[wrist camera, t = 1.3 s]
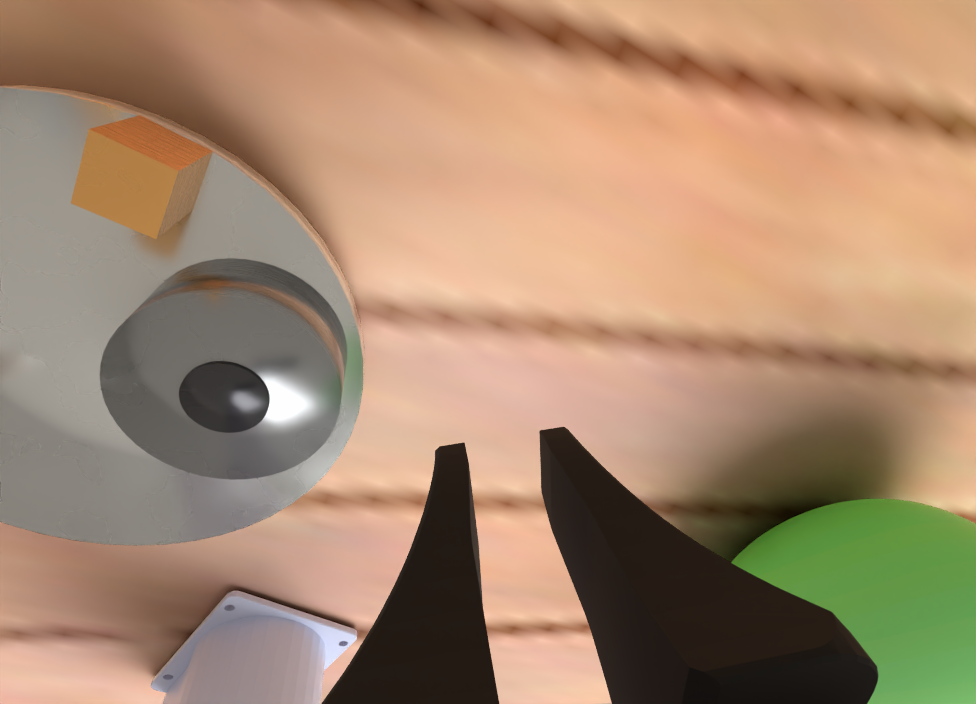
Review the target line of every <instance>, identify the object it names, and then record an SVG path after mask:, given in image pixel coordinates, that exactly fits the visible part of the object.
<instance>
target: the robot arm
mask: <svg viewBox="0 0 976 704" xmlns="http://www.w3.org/2000/svg"><path fill="white" fill-rule="evenodd" d="M540 457H541V489H542V495H543V499H544V503H545V506H546V510H547V514H548V518H549V521H550V525H551V529H552V531H553V534H554V536H555V539H556V542H557V544H558V547H559V549H560V552H561V554H562V557H563V559H564V562H565V564H566V567H567V569H568V572H569V574H570V577H571V579H572V582H573V584H574V587H575V590H576V592H577V595H578V597H579V600H580V602H581V605H582V607H583V610H584V612H585V615H586V618H587V621H588V623H589V626H590V629H591V632H592V636H593V639H594V642H595V646H596V649H597V653H598V656H599V659H600V663H601V666H602V670H603V673H604V677H605V680H606V684H607V687H608V691H609V694H610V698H611V701H612V704H867V703H868V701H869V700H870V698H871V696H872V694H873V693H874V690H875V688H876V685H877V682H878V670H877V666H876V664H875V663H874V662H873V660H872V659H871V658H870V657H869V655H868V654H867V653H866V651H865V650H864V649H863V648H862V646H861V645H860V644H859V642H858V641H857V640H856V639H855V637H854V636H853V635H852V634H851V632H850V631H849V630H848V629H847V628H846V627H845V626H844V625H843V624H842V623H841V622H840V620H839V619H838V618H837V617H836V616H835V615H834V614H833V612H831V611H829V610H827V609H825V608H822V607H820V606H818V605H816V604H813V603H811V602H809V601H807V600H804V599H802V598H800V597H798V596H796V595H793V594H791V593H789V592H787V591H784V590H782V589H780V588H778V587H776V586H774V585H772V584H770V583H768V582H766V581H764V580H762V579H760V578H758V577H756V576H754V575H752V574H751V573H749V572H747V571H745V570H743V569H741V568H739V567H738V566H736V565H734V564H732V563H731V562H729V561H727V560H726V559H724V558H722V557H721V556H719V555H717V554H716V553H714V552H712V551H710V550H709V549H707V548H705V547H704V546H702V545H700V544H699V543H697V542H696V541H694V540H693V539H691V538H690V537H688V536H687V535H685V534H684V533H682V532H681V531H680V530H678V529H677V528H675V527H674V526H673V525H671V524H670V523H668V522H667V521H666V520H664V519H663V518H662V517H660V516H659V515H658V514H657V513H655V512H654V511H653V510H651V509H650V508H649V507H648V506H647V505H645V504H644V503H643V502H642V501H641V500H639V499H638V498H637V497H636V496H635V495H633V494H632V493H631V492H630V491H629V490H628V489H627V488H625V487H624V486H623V485H622V484H621V483H620V482H619V481H618V480H617V479H616V478H615V477H613V476H612V475H611V474H610V473H609V472H608V471H607V470H606V469H605V468H604V467H603V466H602V465H601V464H600V463H599V462H598V461H597V460H596V459H595V458H594V457H593V456H592V455H591V454H590V453H589V452H588V451H587V450H586V449H585V448H584V447H583V446H582V445H581V444H580V442H579V441H578V440H577V439H576V438H575V437H574V436H573V435H572V434H571V433H570V431H569V430H568V429H566V428H565V427H559V428H553V429H547V430H540ZM356 639H357V631H356V630H355V629H353V628H350V627H347V626H344V625H341V624H338V623H335V622H332V621H329V620H326V619H323V618H320V617H317V616H314V615H311V614H308V613H305V612H302V611H299V610H296V609H293V608H290V607H287V606H284V605H281V604H278V603H275V602H272V601H269V600H265V599H262V598H259V597H256V596H253V595H250V594H247V593H244V592H241V591H231V592H229V593H227V594H226V596H225V597H224V598H223V599H222V600H221V601H220V602H219V604H218V605H217V606H216V607H215V608H214V609H213V610H212V612H211V613H210V614H209V615H208V616H207V617H206V618H205V620H204V621H203V622H202V623H201V624H200V625H199V626H198V628H197V629H196V630H195V631H194V632H193V633H192V634H191V636H190V637H189V638H188V639H187V640H186V641H185V643H184V644H183V645H182V646H181V647H180V648H179V649H178V651H177V652H176V653H175V654H174V655H173V656H172V657H171V659H170V660H169V661H168V662H167V663H166V664H165V665H164V667H163V668H162V669H161V670H160V671H159V672H158V673H157V675H156V676H155V677H154V678H153V680H152V683H151V687H152V688H153V689H154V690H157V691H161V692H166V695H165V698H164V701H163V704H320V702H321V693H322V684H323V675H324V670H325V669H326V668H327V667H328V666H329V665H330V664H331V663H332V662H334V661H335V660H336V659H337V658H338V657H339V656H340V655H341V654H342V653H343V652H344V651H345V650H346V649H347V648H348V647H349V646H350V645H351V644H352V643H353V642H354V641H355V640H356ZM322 704H499V700H498V694H497V688H496V683H495V677H494V671H493V665H492V659H491V654H490V648H489V642H488V636H487V630H486V624H485V618H484V612H483V604H482V589H481V574H480V559H479V545H478V536H477V527H476V519H475V511H474V503H473V495H472V487H471V479H470V471H469V463H468V458H467V453H466V448H465V443H459V444H452V445H446V446H440V447H439V448H438V449H437V450H436V451H435V465H434V472H433V477H432V482H431V486H430V490H429V494H428V498H427V501H426V505H425V508H424V512H423V515H422V518H421V521H420V524H419V527H418V530H417V532H416V535H415V538H414V541H413V544H412V546H411V549H410V551H409V554H408V556H407V559H406V561H405V563H404V566H403V568H402V570H401V572H400V574H399V577H398V579H397V581H396V583H395V585H394V587H393V589H392V591H391V593H390V595H389V597H388V599H387V601H386V603H385V605H384V607H383V609H382V610H381V612H380V614H379V616H378V618H377V620H376V621H375V623H374V625H373V627H372V628H371V630H370V631H369V633H368V635H367V636H366V638H365V640H364V641H363V643H362V644H361V646H360V648H359V649H358V651H357V653H356V654H355V656H354V657H353V659H352V661H351V662H350V664H349V665H348V667H347V668H346V670H345V671H344V673H343V674H342V676H341V677H340V679H339V680H338V681H337V683H336V684H335V686H334V687H333V688H332V690H331V691H330V693H329V694H328V695H327V697H326V698H325V700H324V701H323V702H322Z"/></svg>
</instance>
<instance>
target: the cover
mask: <svg viewBox="0 0 976 704" xmlns="http://www.w3.org/2000/svg"><path fill="white" fill-rule="evenodd" d="M346 364H347V343H346V337H345V333H344V330H343V327H342V325H341V323H340V321H339V319H338V316H337V315H336V313H335V312H334V310H333V309H332V307H331V306H330V304H329V303H328V302H327V301H326V300H325V299H324V297H323V296H322V295H321V294H320V293H319V292H317V291H316V290H315V289H314V288H313V287H312V286H311V285H309V284H308V283H306V282H305V281H304V280H302V279H301V278H299V277H297V276H295V275H294V274H292V273H290V272H288V271H286V270H283V269H281V268H279V267H276V266H274V265H270V264H267V263H263V262H260V261H254V260H248V259H236V258H226V259H214V260H208V261H203V262H200V263H197V264H193V265H190V266H188V267H186V268H184V269H182V270H180V271H178V272H176V273H175V274H173V275H172V276H170V277H169V278H167V279H166V280H165V281H164V282H163V283H162V284H161V285H160V286H159V287H158V288H157V289H156V290H155V291H154V292H153V293H152V294H151V295H150V296H149V297H148V298H147V299H146V300H145V301H144V302H143V303H142V304H141V305H140V306H139V307H138V308H137V309H136V310H135V311H134V312H133V313H132V314H131V315H130V316H129V317H128V318H127V319H126V320H125V321H124V322H123V323H122V324H121V325H120V326H119V327H118V329H117V330H116V331H115V333H114V334H113V335H112V337H111V338H110V339H109V342H108V344H107V346H106V348H105V350H104V352H103V356H102V360H101V364H100V385H101V391H102V395H103V398H104V402H105V404H106V406H107V408H108V410H109V412H110V414H111V416H112V417H113V419H114V420H115V422H116V424H117V425H118V426H119V427H120V429H121V430H122V431H123V432H124V433H125V434H126V436H127V437H129V438H130V439H131V440H132V441H133V442H134V443H135V444H136V445H137V446H139V447H140V448H141V449H143V450H144V451H145V452H147V453H148V454H150V455H151V456H153V457H155V458H156V459H158V460H160V461H162V462H164V463H166V464H168V465H170V466H172V467H174V468H177V469H180V470H183V471H186V472H188V473H192V474H196V475H200V476H205V477H211V478H217V479H230V480H236V479H253V478H261V477H265V476H270V475H274V474H277V473H280V472H283V471H286V470H288V469H290V468H293V467H295V466H297V465H298V464H300V463H302V462H303V461H305V460H307V459H308V458H309V457H311V456H312V455H313V454H314V453H316V452H317V451H318V450H319V449H320V448H321V447H322V446H323V445H324V443H325V442H326V441H327V439H328V438H329V436H330V435H331V433H332V431H333V429H334V427H335V425H336V422H337V419H338V416H339V412H340V405H341V398H342V391H343V385H344V378H345V371H346Z"/></svg>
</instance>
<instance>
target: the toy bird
mask: <svg viewBox="0 0 976 704" xmlns="http://www.w3.org/2000/svg"><path fill="white" fill-rule="evenodd" d="M731 563H732V564H734V565H736V566H738V567H739V568H741V569H743V570H745V571H747V572H749V573H751V574H752V575H754V576H756V577H758V578H760V579H762V580H764V581H766V582H768V583H770V584H772V585H774V586H776V587H778V588H780V589H782V590H784V591H787V592H789V593H791V594H793V595H796V596H798V597H800V598H802V599H804V600H807V601H809V602H811V603H813V604H816V605H818V606H820V607H822V608H825V609H827V610H829V611H831V612H833V614H834V615H835V616H836V617H837V618H838V619H839V620H840V622H841V623H842V624H843V625H844V626H845V627H846V628H847V629H848V630H849V631H850V632H851V634H852V635H853V636H854V637H855V639H856V640H857V641H858V642H859V644H860V645H861V646H862V648H863V649H864V650H865V651H866V653H867V654H868V655H869V657H870V658H871V659H872V660H873V662H874V663H875V664H876V666H877V670H878V682H877V685H876V688H875V690H874V693H873V694H872V696H871V698H870V700H869V701H868V703H867V704H976V524H975V523H973V522H971V521H969V520H967V519H965V518H963V517H961V516H958V515H956V514H953V513H951V512H948V511H945V510H942V509H939V508H936V507H932V506H929V505H925V504H921V503H916V502H910V501H904V500H896V499H859V500H851V501H844V502H839V503H834V504H830V505H826V506H822V507H819V508H816V509H813V510H810V511H807V512H805V513H802V514H800V515H797V516H795V517H793V518H791V519H788V520H786V521H784V522H782V523H781V524H779V525H777V526H775V527H773V528H772V529H770V530H769V531H767V532H765V533H764V534H762V535H761V536H760V537H758V538H757V539H756V540H754V541H753V542H752V543H750V544H749V545H748V546H747V547H746V548H745V549H744V550H742V551H741V552H740V553H739V554H738V555H737V556H736V557H735V558H734V559H733V561H732V562H731Z"/></svg>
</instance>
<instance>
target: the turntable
mask: <svg viewBox="0 0 976 704" xmlns="http://www.w3.org/2000/svg"><path fill="white" fill-rule="evenodd" d="M226 258H236V259H248V260H254V261H260V262H263V263H267V264H270V265H274V266H276V267H279V268H281V269H283V270H286V271H288V272H290V273H292V274H294V275H295V276H297V277H299V278H301V279H302V280H304V281H305V282H306V283H308V284H309V285H311V286H312V287H313V288H314V289H315V290H316V291H317V292H319V293H320V294H321V295H322V296H323V297H324V299H325V300H326V301H327V302H328V303H329V304H330V306H331V307H332V309H333V310H334V312H335V313H336V315H337V316H338V319H339V321H340V323H341V325H342V327H343V330H344V333H345V337H346V343H347V364H346V371H345V378H344V385H343V391H342V398H341V405H340V412H339V416H338V419H337V422H336V425H335V427H334V429H333V431H332V433H331V435H330V436H329V438H328V439H327V441H326V442H325V443H324V445H323V446H322V447H321V448H320V449H319V450H318V451H317V452H316V453H314V454H313V455H312V456H311V457H309V458H308V459H307V460H305V461H303V462H302V463H300V464H298V465H297V466H295V467H293V468H290V469H288V470H286V471H283V472H280V473H277V474H274V475H270V476H265V477H261V478H253V479H236V480H230V479H217V478H211V477H205V476H200V475H196V474H192V473H188V472H186V471H183V470H180V469H177V468H174V467H172V466H170V465H168V464H166V463H164V462H162V461H160V460H158V459H156V458H155V457H153V456H151V455H150V454H148V453H147V452H145V451H144V450H143V449H141V448H140V447H139V446H137V445H136V444H135V443H134V442H133V441H132V440H131V439H130V438H129V437H127V436H126V434H125V433H124V432H123V431H122V430H121V429H120V427H119V426H118V425H117V424H116V422H115V420H114V419H113V417H112V416H111V414H110V412H109V410H108V408H107V406H106V404H105V402H104V398H103V395H102V391H101V385H100V364H101V360H102V356H103V352H104V350H105V348H106V346H107V344H108V342H109V339H110V338H111V337H112V335H113V334H114V333H115V331H116V330H117V329H118V327H119V326H120V325H121V324H122V323H123V322H124V321H125V320H126V319H127V318H128V317H129V316H130V315H131V314H132V313H133V312H134V311H135V310H136V309H137V308H138V307H139V306H140V305H141V304H142V303H143V302H144V301H145V300H146V299H147V298H148V297H149V296H150V295H151V294H152V293H153V292H154V291H155V290H156V289H157V288H158V287H159V286H160V285H161V284H162V283H163V282H164V281H165V280H166V279H167V278H169V277H170V276H172V275H173V274H175V273H176V272H178V271H180V270H182V269H184V268H186V267H188V266H190V265H193V264H197V263H200V262H203V261H208V260H214V259H226ZM363 380H364V342H363V335H362V328H361V322H360V318H359V315H358V312H357V308H356V305H355V301H354V298H353V295H352V292H351V290H350V288H349V286H348V284H347V282H346V279H345V277H344V275H343V273H342V271H341V268H340V266H339V265H338V263H337V261H336V260H335V258H334V257H333V255H332V253H331V252H330V250H329V249H328V247H327V245H326V244H325V242H324V241H323V239H322V238H321V236H320V235H319V234H318V233H317V231H316V230H315V229H314V228H313V227H312V225H311V224H310V223H309V222H308V220H307V219H306V218H305V217H304V215H303V214H302V213H301V212H300V210H299V209H297V208H296V207H295V206H294V205H293V204H292V203H291V202H290V201H289V200H288V199H287V198H286V197H285V196H284V195H283V194H282V193H281V192H280V191H279V190H278V189H277V188H276V187H275V186H274V185H273V184H272V183H271V182H269V181H268V180H267V179H266V178H264V177H263V176H262V175H260V174H259V173H258V172H257V171H255V170H254V169H253V168H251V167H250V166H249V165H248V164H246V163H245V162H244V161H243V160H241V159H240V158H238V157H237V156H235V155H234V154H232V153H230V152H229V151H227V150H225V149H224V148H222V147H221V146H219V145H217V144H216V143H214V142H213V141H211V140H209V139H208V138H206V137H205V136H203V135H201V134H199V133H197V132H195V131H192V130H190V129H188V128H186V127H184V126H182V125H180V124H178V123H176V122H174V121H172V120H170V119H168V118H165V117H163V116H161V115H158V114H155V113H152V112H149V111H147V110H144V109H141V108H138V107H135V106H133V105H130V104H127V103H124V102H121V101H118V100H114V99H109V98H105V97H101V96H96V95H92V94H88V93H83V92H79V91H75V90H67V89H58V88H49V87H40V86H30V85H11V86H0V522H3V523H6V524H8V525H12V526H15V527H19V528H22V529H26V530H30V531H33V532H37V533H40V534H45V535H50V536H55V537H60V538H65V539H70V540H75V541H84V542H92V543H100V544H113V545H163V544H173V543H181V542H189V541H196V540H201V539H205V538H210V537H214V536H219V535H223V534H226V533H229V532H232V531H235V530H238V529H242V528H245V527H247V526H250V525H252V524H254V523H256V522H259V521H261V520H263V519H266V518H268V517H270V516H272V515H273V514H275V513H277V512H279V511H280V510H282V509H284V508H285V507H287V506H289V505H291V504H292V503H293V502H295V501H296V500H297V499H298V498H300V497H301V496H302V495H304V494H305V493H306V492H308V491H309V490H310V489H311V488H312V487H313V486H314V485H315V484H316V483H317V482H318V481H319V480H320V479H321V478H322V477H323V476H324V475H325V474H326V473H327V472H328V470H329V469H330V468H331V466H332V465H333V464H334V462H335V461H336V460H337V458H338V457H339V456H340V454H341V452H342V450H343V449H344V447H345V445H346V443H347V441H348V439H349V437H350V435H351V433H352V430H353V427H354V424H355V421H356V418H357V416H358V413H359V407H360V402H361V396H362V390H363Z"/></svg>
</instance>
